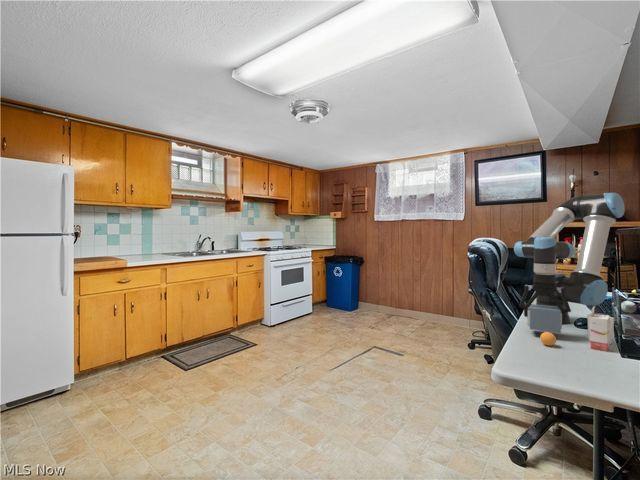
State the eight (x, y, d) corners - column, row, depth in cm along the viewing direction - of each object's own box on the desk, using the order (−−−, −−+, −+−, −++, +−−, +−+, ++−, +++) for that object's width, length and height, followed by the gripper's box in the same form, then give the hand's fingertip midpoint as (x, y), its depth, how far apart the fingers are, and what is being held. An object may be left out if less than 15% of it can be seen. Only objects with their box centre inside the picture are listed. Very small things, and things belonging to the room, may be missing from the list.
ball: (539, 342, 124) (539, 329, 124) (555, 344, 122) (555, 331, 122) (540, 346, 120) (540, 333, 120) (557, 348, 118) (557, 335, 117)
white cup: (603, 339, 128) (603, 314, 128) (619, 345, 120) (619, 319, 120) (582, 338, 129) (582, 313, 129) (596, 345, 121) (597, 318, 121)
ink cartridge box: (608, 352, 114) (608, 311, 114) (590, 348, 117) (590, 308, 117) (610, 346, 120) (610, 307, 120) (592, 343, 123) (592, 305, 123)
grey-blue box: (528, 323, 140) (528, 303, 140) (557, 327, 135) (557, 306, 135) (530, 329, 132) (530, 308, 132) (560, 333, 126) (561, 311, 126)
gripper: (512, 272, 136) (512, 324, 136) (580, 276, 124) (580, 332, 124) (512, 271, 142) (512, 320, 142) (577, 274, 131) (576, 328, 131)
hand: (543, 326), depth 133 cm, fingers closed on grey-blue box, 10 cm apart
